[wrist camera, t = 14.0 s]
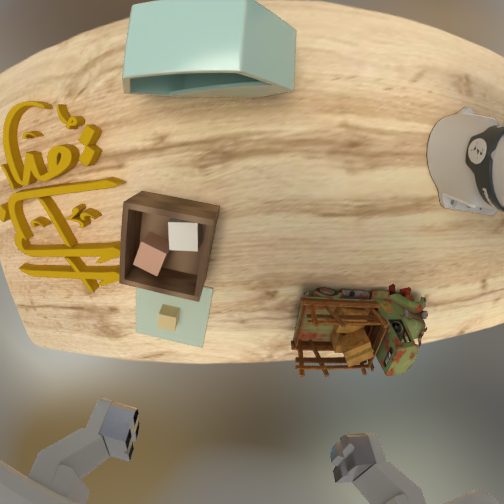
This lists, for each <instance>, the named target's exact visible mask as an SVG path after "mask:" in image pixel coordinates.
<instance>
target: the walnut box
mask: <svg viewBox="0 0 504 504" xmlns="http://www.w3.org/2000/svg"><path fill="white" fill-rule="evenodd" d="M219 208H220V206H216V205H211V204H206V203H202V202H197V201H192V200H187V199H182V198H177V197H171V196H166V195H161V194H156V193H150V192H145V191H141V192H139V193H138V194H136V195H134V196H133V197H131V198H129V199H128V200H126V201H124V203H123V214H122V228H121V244H120V274H119V283H121V284H125V285H129V286H133V287H137V288H141V289H145V290H149V291H153V292H157V293H162V294H166V295H170V296H175V297H179V298H183V299H188V300H192V301H197V302H199V301H200V297H201V294H202V290H203V287H204V283H205V280H206V275H207V269H208V264H209V259H210V253H211V248H212V243H213V238H214V233H215V228H216V223H217V218H218V213H219ZM171 218H176V219H180V220H185V221H190V222H195V223H200V224H202V243H201V245H200V248H199V250H198V251H178V250H170V252H169V255H168V257H167V259H166V262H165V264H164V266H163V268H162V269H161V271H160V273H159V274H158V276H155V275H153V274H151V273H149V272H147V271H145V270H143V269H141V268H139V267H137V266H135V265H133V263H134V260H135V258H136V255H137V252H138V249H139V246H140V244H141V241H142V240H143V239H144V238H145V237H146V236H147V235H148V234H149V233H150V232H151V233H153V234H155V235H157V236H159V237H161V238H163V239H165V240H167V241H169V233H168V221H169V220H170V219H171Z"/></svg>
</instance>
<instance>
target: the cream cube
mask: <svg viewBox="0 0 504 504" xmlns="http://www.w3.org/2000/svg"><path fill="white" fill-rule="evenodd" d="M168 233H169V250H178V251H198V250H199V248H200V245H201V243H202V224H200V223H195V222H190V221H185V220H180V219H176V218H171V219H170V220H169V221H168Z"/></svg>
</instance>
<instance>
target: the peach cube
mask: <svg viewBox="0 0 504 504" xmlns="http://www.w3.org/2000/svg"><path fill="white" fill-rule="evenodd" d="M169 252H170V250H169V241H167V240H165V239H163V238H161V237H159V236H157V235H155V234H153V233H151V232H150V233H149V234H148V235H147V236H146V237H145V238H144V239H143V240H142V241H141V244H140V246H139V249H138V252H137V255H136V258H135V260H134V263H133V265H135V266H137V267H139V268H141V269H143V270H145V271H147V272H149V273H151V274H153V275H155V276H158V274H159V273H160V271H161V269H162V268H163V266H164V264H165V262H166V259H167V257H168V255H169Z"/></svg>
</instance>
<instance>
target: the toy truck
mask: <svg viewBox="0 0 504 504" xmlns="http://www.w3.org/2000/svg"><path fill="white" fill-rule="evenodd" d="M389 291H390V292H389ZM389 291H373V292H372V294H371V298H372V299H370V300H369V293H368V292H367V291H355V290H341V291H340V292H339V294H338V293H337V292H336V291H335V290H333V289H330V288H324V287H323V288H318V289H316V291H314V292H313V295H312V297H309V292H307V293H304V296H302V298H300V299H301V306H300V311H299V315H298V320H297V324H296V327H295V333H294V337H293V341H291V349H292V350H298V355H299V357H296V362H299V366H295V369H299V371H300V377H304V375H305V374H304V369H312V370H314V369H316V370H318V369H322V371H323V373H324V375H325V377H327V376H329V373H328V371H327V369H359V368H361V370H362V373H363V375H366V374H367V373H366V370H365V368H368V369H369V368H371V371H373V370H374V366H373V363H372V362H373V359H374V357H375V355H376V357H377V359H378V361H379V363H380V365H381V367H382V369H383V370H384V373H385V374H386V375H387V376H391V375H398V374H403V373H405V372H406V371H407V370H408V369H409V368H410V367H411V366H412V364H413V363H414V361H415V360H416V357H417V354H418V346H417V345H416V344H415V342H414V340H413V339H416V338H418V342H419V347H420V345H421V338H422V336H423V334H424V332H426V330H427V327H426V329H425V322H424V320H423V319H426V318H427V317H428V312H427V311H423V309H424V307H425V306H426V304H425V303H426V298H425V297H421V301H420V302H415V301H414V298H413V297H412V296H410V293H411V288H410V287H408V288H403V289H400V294H396V291H395V285H394V284H392V285H390V286H389ZM389 294H390V296H389ZM407 341H410V342H407ZM372 349H373V351H374V352H373V351H372ZM302 350H311V351H313V352H314V354H315V356H316V358H303V351H302ZM318 351H334V352H335V353H343V354H344V357H338V358H321V357H320V355H319V353H318ZM389 352H390V354H391V357H390V359H389ZM367 360H368V362H369V363H368V365H364V364H363V363H366V362H367ZM388 360H389V361H388ZM386 362H388V363H387V365H386ZM303 363H319V364H320V366H304V364H303ZM324 363H347V365H344V366H343V365H340V366H325V365H324ZM358 363H360V365H356V364H358Z"/></svg>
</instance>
